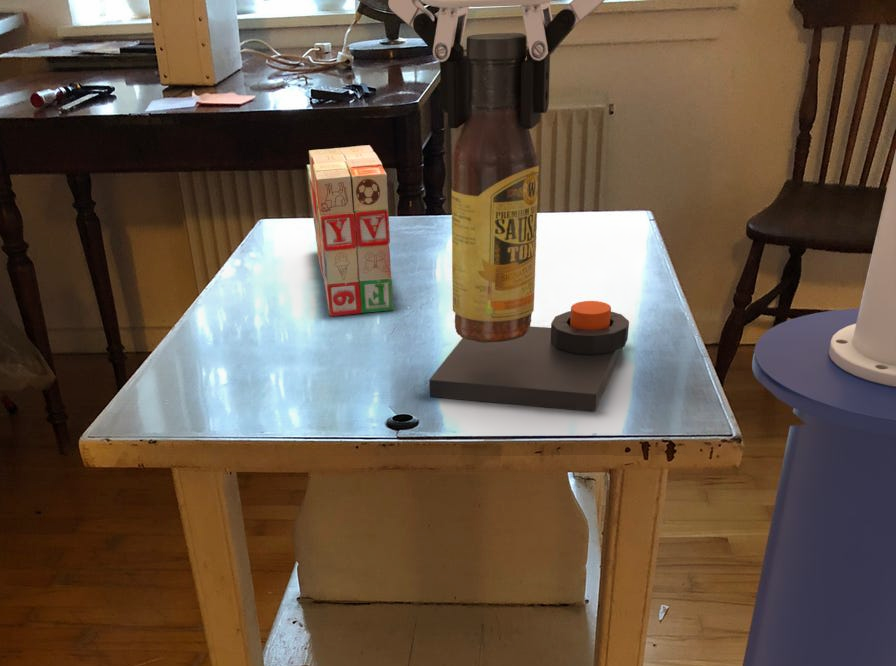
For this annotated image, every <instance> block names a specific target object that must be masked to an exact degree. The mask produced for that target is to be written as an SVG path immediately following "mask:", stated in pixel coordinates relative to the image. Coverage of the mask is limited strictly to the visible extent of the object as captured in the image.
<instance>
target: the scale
mask: <svg viewBox="0 0 896 666" xmlns="http://www.w3.org/2000/svg"><path fill="white" fill-rule="evenodd" d="M570 317H571V310H569V311H566V312H563V313H561V314H558V315H555V317H554V318H553V319H552V321H551V323H550V327H548V326H547V327H545V326H531V325H530V328H529V330H528V332H527V333H526V334H525V335H524V336H522V337H519V338H517V339H513V340H509V341H502V342H488V343H482V342H477V341H473V340H468V339H465V338H462V337H461V338H462V339H461V340H460V341H459V342H457V344H456V346H455V347H454V348H453V349H452V351H451V352H450V353H449V354H448V355H447V357H446V358H445V359H444V361H443V362H442V363H441V364H440V366H439V367H438V368H437V370H436V371H435V372H434V373H433V374H432V376H431V377H430V378H429V380H428V383H429V384H428V385H429V387H428V388H429V397H431V398H443V399H455V400H466V401H474V402H475V401H476V402H486V403H487V402H488V403H497V404H509V405H519V406H520V405H521V406H522V405H523V406H531V407H532V406H533V407H540V408H541V407H542V408H554V409H565V410H574V411H575V410H576V411H587V412H595V411H596V410H597V407H598V405H599V403H600V401H601V399H602V396H603V394H604V392H605V390H606V387H607V385H608V383H609V381H610V380H609V379H610V378H611V376H612V374H613V371H614V369H615V367H616V365H617V362H618V360H619V358H620V356H621V353H622V352H623V349H624V348H625V346H626V344H627V343H628V339H629V329H630V321H629V319H627V318H626V317H625V316H624V315H623V314H621V313H617V312H614V311H611V315H610V326H609V327H608V328H605V329H599V330H580V329H576V328H573V327H570Z"/></svg>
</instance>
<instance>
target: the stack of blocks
mask: <svg viewBox="0 0 896 666" xmlns="http://www.w3.org/2000/svg"><path fill="white" fill-rule="evenodd" d="M308 156H309V164H306V170H307V171H306V174H307V181H308V183H307V184H308V190H309V191H308V192H309V197H310V201H311V209H312V217H313V218H312V219H313V225H314V233H315V242H316V250H317V256H318V263H319V267H320V273H321V277H322V279H323V285H324V287H325V295H326V296H325V297H326V302H327V308H328V314H329V316H330V317H337V316H348V315H358V314H366V313H377V312H389V311H393V310H394V295H393V292H394V291H393V277H392V270H391V269H392V268H391V251H390V248H391V247H390V243H391V234H390V218H389V216H390V215H389V203H388V198H389V197H388V176H387V175H388V174H387V172H386V171H385V169H384V167H383V163H382V161H381V160H380V158H379V156H378V154H377V153H376V152H375V151H374V149H373V147H372V146H371V145H370V144H368V145H356V146H346V147H334V148H324V149H323V148H322V149H311V150H308Z"/></svg>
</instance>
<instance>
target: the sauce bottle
mask: <svg viewBox="0 0 896 666" xmlns="http://www.w3.org/2000/svg"><path fill="white" fill-rule="evenodd" d="M527 49H528V41H527V36H526V33H525V34H524V33H520V32H499V33H498V32H496V33H495V32H494V33H480V34H471V35H468V36H467V37H466V48H465V50H466V51H465V52H466V55H465V56H466V57H467V61H468V63H469V100H468V106H469V116H468V118H467V120H466V122H465V123H464V124H463V125H462V128H461V129H460V133H459V134H458V137H457V138H456V141H455V142H454V146H453V152H452V180H453V181H452V186H451V247H452V248H451V251H452V252H451V271H452V272H451V274H452V276H451V277H452V279H451V280H452V281H451V282H452V312H453V313H454V328H455V332H456V333H457V335H458V336H460V337H461V338H465V339H468V340H473V341H477V342H482V343H488V342H502V341H509V340H513V339H517V338H519V337H522V336H524V335H525V334H526V333H527V332H528V330H529V328H530V326H531V323H532V314H533V312H534V311H535V310H534V309H535V289H536V287H535V286H536V256H537V230H538V229H537V228H538V202H539V201H538V199H539V181H540V179H539V177H540V175H539V174H540V171H539V170H540V166H539V162H538V161H539V160H538V158H537V154H536V153H537V152H536V151H535V146H534V143H533V139H532V135H531V132H530V129H524V128H523V127H521V65H522V63H523V62H524V61H526V60H527Z"/></svg>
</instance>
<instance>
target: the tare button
mask: <svg viewBox="0 0 896 666" xmlns="http://www.w3.org/2000/svg"><path fill="white" fill-rule="evenodd" d="M570 311H571V317H570V327H573V328H576V329H580V330H599V329H605V328H608V327H609V326H610V315H611V312H612V307H611V305H610V304H609V303H606V302H603V301H599V300H598V301H597V300H584V301H578V302H576V303H573V304H572V305H571V306H570Z"/></svg>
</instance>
